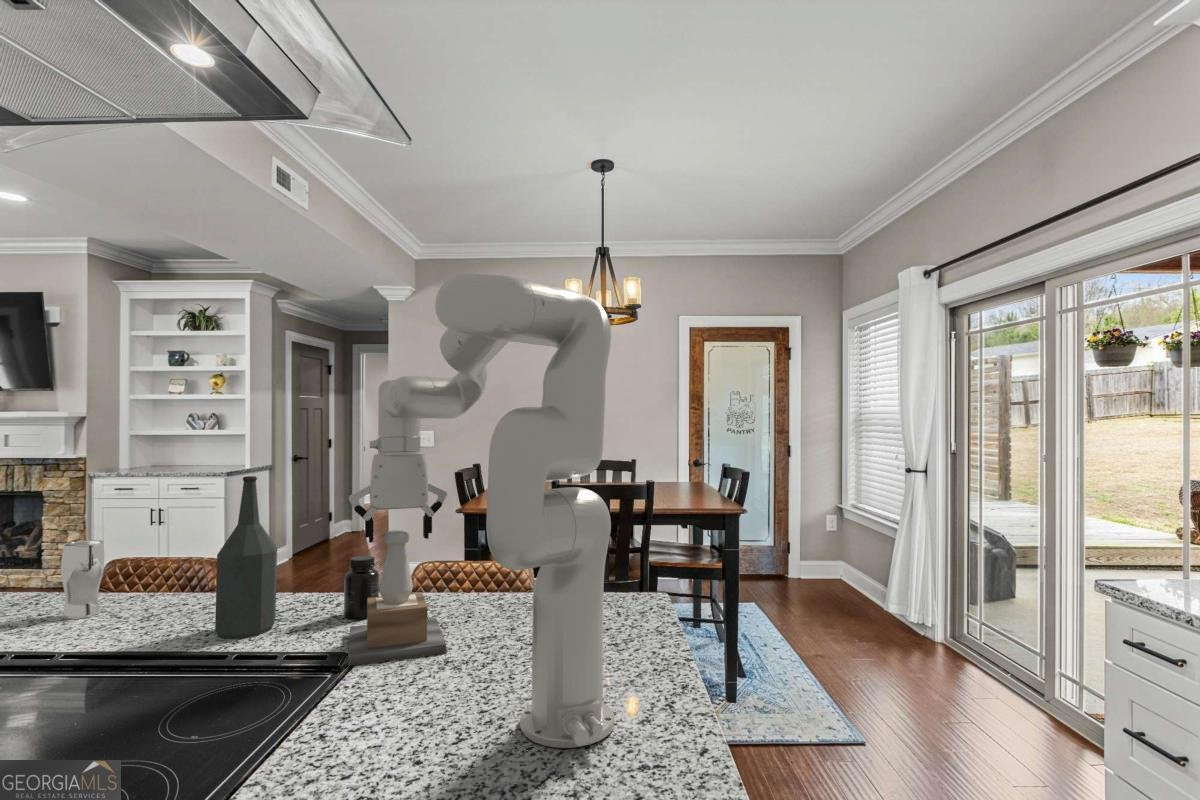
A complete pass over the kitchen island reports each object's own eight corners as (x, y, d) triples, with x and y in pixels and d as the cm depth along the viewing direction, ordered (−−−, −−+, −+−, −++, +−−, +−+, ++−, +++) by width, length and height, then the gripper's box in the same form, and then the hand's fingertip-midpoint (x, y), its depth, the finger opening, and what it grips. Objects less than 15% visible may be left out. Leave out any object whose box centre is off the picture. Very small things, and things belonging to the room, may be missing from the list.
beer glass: (50, 618, 125) (53, 545, 126) (87, 608, 132) (90, 539, 132) (74, 621, 123) (77, 547, 124) (110, 611, 130) (113, 541, 130)
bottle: (270, 635, 115) (274, 477, 117) (210, 642, 112) (215, 479, 113) (277, 619, 125) (280, 473, 126) (222, 625, 121) (226, 474, 123)
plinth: (446, 653, 107) (446, 608, 107) (347, 665, 101) (348, 619, 101) (436, 625, 122) (436, 586, 122) (349, 634, 116) (350, 594, 116)
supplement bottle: (372, 608, 133) (373, 553, 133) (383, 616, 127) (384, 558, 128) (339, 614, 128) (340, 557, 129) (349, 622, 123) (350, 563, 123)
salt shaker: (417, 597, 114) (418, 527, 115) (405, 606, 108) (406, 533, 109) (387, 596, 115) (388, 527, 115) (373, 605, 109) (374, 532, 109)
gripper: (348, 448, 106) (347, 546, 105) (449, 446, 112) (449, 539, 112) (349, 447, 113) (348, 539, 112) (444, 445, 119) (444, 533, 119)
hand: (398, 539), depth 112 cm, fingers open, 9 cm apart
